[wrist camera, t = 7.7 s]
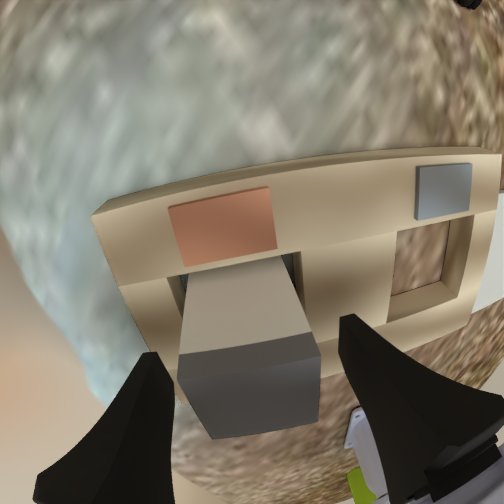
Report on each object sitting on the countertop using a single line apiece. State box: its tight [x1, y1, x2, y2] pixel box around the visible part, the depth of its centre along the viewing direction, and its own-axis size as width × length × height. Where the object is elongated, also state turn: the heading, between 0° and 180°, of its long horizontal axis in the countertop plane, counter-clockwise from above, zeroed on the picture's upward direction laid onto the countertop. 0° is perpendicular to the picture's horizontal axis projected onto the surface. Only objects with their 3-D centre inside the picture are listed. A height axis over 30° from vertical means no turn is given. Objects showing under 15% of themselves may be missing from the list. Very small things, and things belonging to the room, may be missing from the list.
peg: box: [177, 255, 321, 439], centre depth 11 cm, size 4×4×7 cm
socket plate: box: [90, 147, 502, 403], centre depth 14 cm, size 12×20×2 cm, turn 99°
